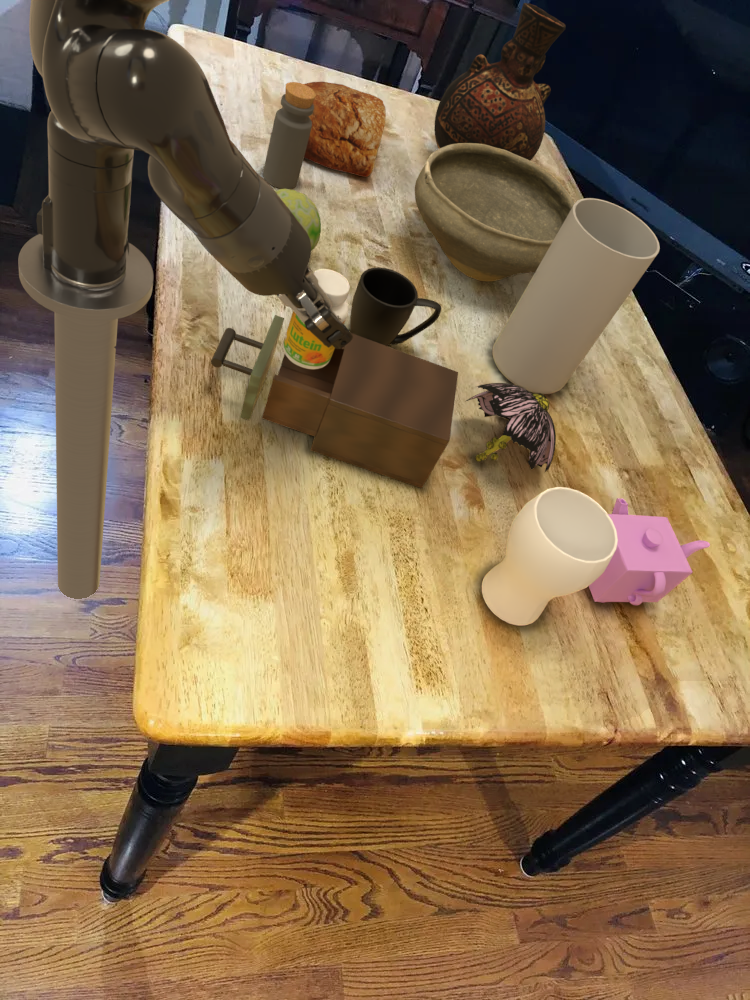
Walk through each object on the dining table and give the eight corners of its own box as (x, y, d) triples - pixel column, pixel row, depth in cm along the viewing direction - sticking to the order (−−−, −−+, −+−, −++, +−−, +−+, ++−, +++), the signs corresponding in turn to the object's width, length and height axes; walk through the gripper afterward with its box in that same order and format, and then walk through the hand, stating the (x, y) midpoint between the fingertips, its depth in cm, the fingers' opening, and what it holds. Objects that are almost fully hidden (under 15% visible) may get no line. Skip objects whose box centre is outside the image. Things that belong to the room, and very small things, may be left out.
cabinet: (310, 450, 92) (329, 399, 86) (330, 383, 101) (349, 332, 94) (421, 488, 94) (449, 441, 88) (432, 419, 103) (458, 371, 96)
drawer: (198, 403, 90) (207, 358, 85) (225, 344, 98) (234, 299, 92) (346, 453, 93) (363, 413, 87) (361, 392, 100) (378, 352, 95)
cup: (544, 563, 93) (609, 490, 82) (560, 642, 87) (634, 574, 76) (464, 552, 90) (521, 474, 79) (475, 632, 84) (539, 560, 73)
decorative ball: (261, 276, 110) (275, 216, 102) (238, 233, 114) (250, 172, 107) (322, 275, 114) (340, 217, 107) (298, 233, 119) (314, 175, 111)
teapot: (647, 533, 102) (691, 490, 95) (685, 620, 95) (737, 581, 88) (531, 528, 96) (570, 481, 89) (563, 621, 89) (608, 578, 81)
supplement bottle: (274, 355, 80) (296, 282, 73) (293, 328, 84) (315, 256, 77) (320, 378, 81) (346, 307, 73) (337, 350, 84) (363, 280, 77)
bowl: (513, 221, 143) (549, 151, 132) (569, 321, 128) (615, 252, 118) (377, 201, 132) (404, 124, 121) (421, 308, 117) (456, 230, 107)
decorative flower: (606, 439, 96) (523, 405, 88) (552, 508, 101) (468, 482, 93) (550, 381, 106) (471, 346, 98) (503, 447, 111) (424, 418, 103)
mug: (419, 373, 108) (444, 322, 100) (338, 350, 105) (358, 296, 98) (420, 337, 113) (444, 285, 106) (343, 313, 110) (362, 259, 103)
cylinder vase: (478, 337, 117) (557, 193, 99) (544, 339, 122) (631, 203, 104) (509, 396, 111) (599, 254, 92) (577, 396, 116) (676, 262, 97)
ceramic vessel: (421, 181, 141) (489, 9, 119) (416, 135, 152) (477, -32, 129) (523, 212, 147) (606, 52, 124) (511, 164, 157) (585, 9, 135)
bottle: (260, 182, 124) (280, 92, 113) (264, 164, 128) (284, 75, 117) (295, 193, 125) (317, 105, 114) (298, 175, 129) (321, 88, 118)
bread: (369, 185, 134) (387, 131, 127) (268, 152, 130) (280, 95, 123) (373, 131, 147) (390, 79, 140) (281, 99, 143) (293, 44, 136)
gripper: (323, 258, 61) (393, 347, 77) (249, 153, 67) (328, 255, 82) (251, 315, 63) (334, 392, 78) (184, 207, 68) (274, 298, 84)
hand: (330, 321), depth 80 cm, fingers closed on supplement bottle, 5 cm apart
